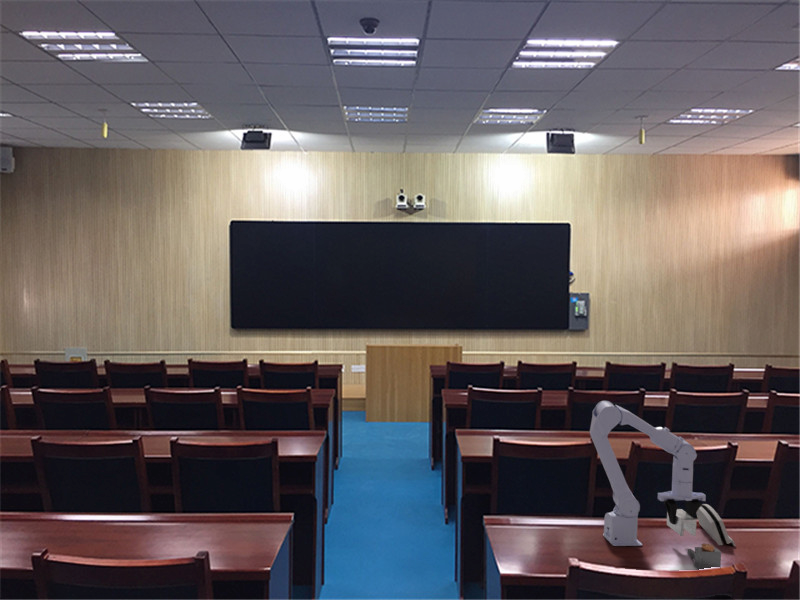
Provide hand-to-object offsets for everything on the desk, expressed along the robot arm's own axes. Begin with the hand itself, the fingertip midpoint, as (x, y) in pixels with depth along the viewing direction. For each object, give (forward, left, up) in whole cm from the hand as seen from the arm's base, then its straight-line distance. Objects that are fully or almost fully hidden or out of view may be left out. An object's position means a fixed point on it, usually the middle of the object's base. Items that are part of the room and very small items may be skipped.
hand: (680, 523), depth 181 cm
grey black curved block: (+16, +8, -8) cm, 19 cm away
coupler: (0, -10, -7) cm, 12 cm away
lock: (0, 0, -2) cm, 2 cm away
